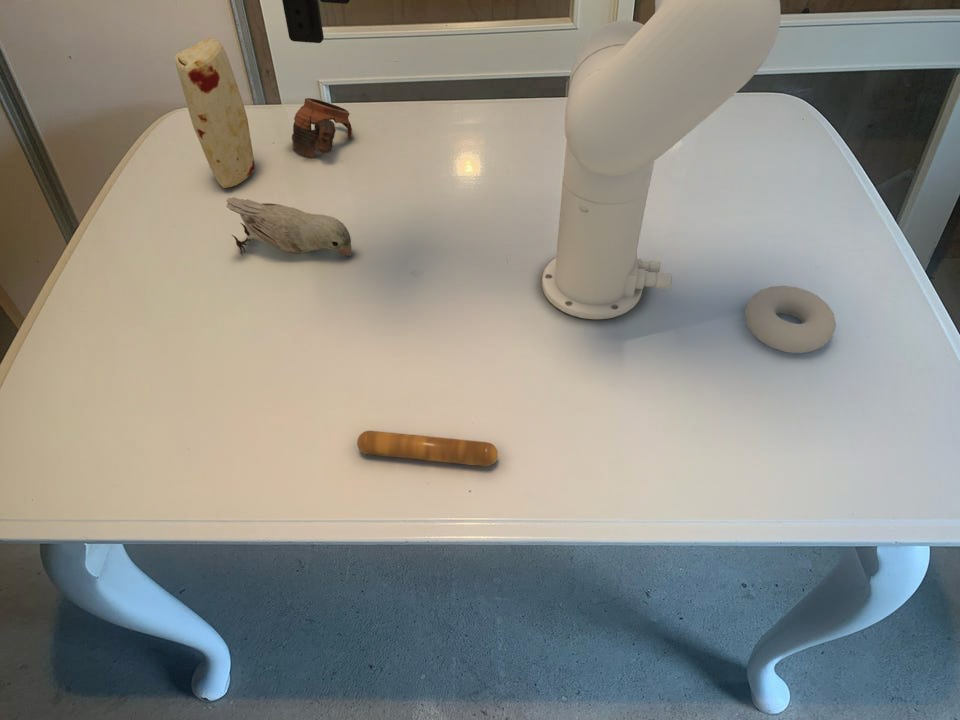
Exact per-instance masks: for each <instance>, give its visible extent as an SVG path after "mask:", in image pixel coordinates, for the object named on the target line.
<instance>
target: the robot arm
mask: <svg viewBox="0 0 960 720" xmlns="http://www.w3.org/2000/svg"><path fill="white" fill-rule="evenodd" d="M281 1H282V7H283V12H284V17H285V23H286V28H287V33H288V38H289V40H290V41H292V42H297V43H309V44H310V43H311V44H313V43H314V44H322V42H323V41H324V38H325V36H324V30H323V23H322V17H321V10H320V9H321V8H320V4H319V1H320V2H321V3H328V4H342V5H347V4H349V2H350V1H351V0H281ZM780 25H781V1H780V0H654V13H653V15H652V16H651V17H650V18H649V19H648V21H646V22H645V23H644V24H643V23H641V22H639V21H635V20H628V19H624V20H623V19H622V20H621V19H620V20H614V21H611V22H608V23H605V24H604V25H601V26H599V27H598V28H596V29H595V30H594V31H593V32H592V33H591V34H589V36H587V38H585V40H584V41H583V43H582V44H581V46H580V48H579V49H578V50H577V53H576V55H575V57H574V60H573V63H572V66H571V71H570V77H569V85H568V90H567V99H566V105H565V112H564V135H565V150H564V151H565V153H564V161H563V162H564V164H563V176H562V182H561V183H562V184H561V195H560V207H559V208H560V209H559V219H558V222H559V223H558V232H557V242H556V244H557V245H556V256H555V258H553V259H552V260H551V261H550V262H549V263H548V264H546V266H545V268H544V270H543V273H542V279H541V286H542V291H543V294H544V296H545V297H546V299H547V300H548V301H549V303H551V304H552V305H553V307H555V308H557V309H558V310H560V311H561V312H563V313H566V314H567V315H569V316H573V317H576V318H579V319H585V320H605V319H613V318H616V317H619V316H622V315H624V314H626V313H628V312H629V311H631V310H632V309H633V308H635V306H636V305H637V304H638V303H639V302H640V299H641V297H642V293H643V290H644V289H645V287H649V288H655V289H665V290H670V289H671V287H672V278H673V277H672V275H673V273H672V272H660V271H661V262H660V261H653V260H650V261H649V260H648V261H647V260H646V261H645V260H642V259H641V258H638V248H639V242H640V236H641V232H642V227H643V220H644V216H645V211H646V205H647V200H648V194H649V191H650V186H651V181H652V176H653V170H654V165H655V161H656V160H657V159H659V158H660V157H662V156H663V155H664V154H666V153H667V152H668V151H670V149H671V148H673V147H674V146H675V145H676V144H677V143H679V142H680V141H681V140H682V139H684V138H685V137H686V136H687V135H688V134H689V133H691V132H692V131H693V130H695V128H697V127H698V126H699V125H700V124H701V123H702V122H704V121H705V120H706V119H707V118H708V117H709V116H711V115H712V114H713V113H714V112H715V111H716V110H718V109H719V108H720V107H721V106H722V105H724V104H725V103H726V102H727V101H728V100H729V99H731V98H732V97H733V96H734V95H735V94H736V93H737V92H738V91H740V90H741V89H742V88H743V87H744V86H745V85H746V84H747V83H749V81H750V80H751V79H752V78H753V77H754V76H755V74H756V73H757V72H758V71H759V69H761V67H762V65H763V64H764V62H765V61H766V60H767V59H768V57H769V56H770V53H771V51H772V49H773V47H774V45H775V42H776V40H777V37H778V33H779V31H780Z"/></svg>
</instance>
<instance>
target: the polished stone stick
mask: <svg viewBox="0 0 960 720" xmlns="http://www.w3.org/2000/svg"><path fill="white" fill-rule="evenodd" d="M356 445H357V448H358V451H360V452H361V453H363V454H365V455H369V456H380V457H390V458H399V459H400V458H401V459H409V460H420V461H430V462H439V463H449V464H459V465H460V464H461V465H469V466H479V467H490V466H492V465H493V464H495V463H496V462H497V460H498V456H499V452H498V449H497V447H496V446H495V444H494V443H491V442H488V441H479V440H469V439H459V438H447V437H438V436H430V435H429V436H428V435H418V434H410V433H409V434H407V433H397V432H387V431H379V430H378V431H377V430H365V431H363V432H362V433H360V434H359V436H358V438H357V440H356Z"/></svg>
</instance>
